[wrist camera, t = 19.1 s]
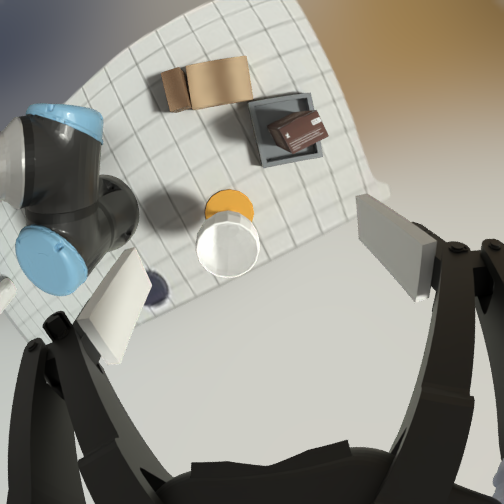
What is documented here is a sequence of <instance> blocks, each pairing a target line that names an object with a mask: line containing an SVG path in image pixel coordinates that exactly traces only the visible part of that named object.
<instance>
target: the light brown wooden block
mask: <svg viewBox="0 0 504 504" xmlns="http://www.w3.org/2000/svg"><path fill="white" fill-rule="evenodd" d="M186 72H187V78H188V85H189V91H190V98H191V104H192V109H193V110H198V109H203V108H208V107H214V106H219V105H225V104H232V103H238V102H246V101H252V100H253V94H252V87H251V81H250V75H249V68H248V62H247V56H240V57H233V58H226V59H220V60H214V61H208V62H203V63H198V64H193V65H188V66H186Z"/></svg>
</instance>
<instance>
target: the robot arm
mask: <svg viewBox="0 0 504 504" xmlns="http://www.w3.org/2000/svg"><path fill="white" fill-rule="evenodd" d="M102 133H103V117H102V115H101V114H100V113H99V112H98V111H96V110H94V109H90V108H86V107H80V106H74V105H65V104H54V105H53V104H43V103H42V104H33V105H30V106H29V107H28V110H27V111H26V116H21V117H15V118H14V119H13V120H12V121H11V122H10V123H9V124H8V126H7V127H6V128H5V129H4V130H3V131H1V132H0V202H1V201H5V202H7V203H8V204H10V205H11V206H12V207H14V208H15V209H21V208H24V207H25V214H26V224H27V226H26V227H24V228H23V229H22V230H21V231H20V233H19V236H18V238H17V239H16V244H15V249H16V256H17V259H18V262H19V265H20V267H21V269H22V270H23V272H24V273H25V275H26V276H27V277H28V279H29V280H31V281H32V282H33V284H34V285H35V286H37V287H38V288H39V289H41V290H42V291H44V292H46V293H48V294H51V295H55V296H66V295H69V294H71V293H73V292H74V291H75V290H76V289H77V288H78V287H79V286H80V285H81V284H82V283H84V282H85V281H86V279H87V277H88V276H89V274H90V273H91V272H92V270H93V269H94V268H95V266H96V265H97V264H98V263H99V261H100V260H101V259H102V258H103V256H104V255H105V254H106V253H107V252H110V251H113V250H115V249H118V248H120V247H122V246H123V245H124V244H126V243H127V242H128V241H129V239H130V238H131V237H132V236H133V234H134V233H135V231H136V229H137V226H138V222H139V208H138V204H137V200H136V198H135V196H134V194H133V192H132V191H131V189H130V188H129V187H128V186H127V185H126V184H125V183H124V182H123V181H121V180H120V179H118V178H116V177H113V176H110V175H99V170H100V156H101V145H103V140H102ZM356 204H357V217H358V233H359V239H360V241H361V242H362V243H363V244H364V245H365V246H366V247H367V248H368V249H369V250H370V251H371V252H372V254H373V255H374V256H375V257H376V258H377V259H378V260H379V261H380V262H381V263H382V265H383V266H384V267H385V268H386V269H387V270H388V271H389V272H390V274H391V275H392V276H393V277H394V278H395V279H396V280H397V282H398V283H399V284H400V285H401V286H402V287H403V289H404V290H405V291H406V292H407V293H408V295H409V296H410V297H411V298H412V299H413V300H414V302H415V303H416V302H418V301H422V300H424V299H427V298H429V294H430V289H431V286H432V287H433V288H434V290H435V291H436V294H435V299H434V304H433V308H432V318H431V323H430V329H429V334H428V338H427V343H426V348H425V352H424V356H423V360H422V364H421V367H420V371H419V375H418V378H417V382H416V385H415V388H414V391H413V394H412V397H411V400H410V404H409V406H408V409H407V412H406V415H405V417H404V420H403V423H402V425H401V428H400V430H399V432H398V435H397V437H396V439H395V441H394V443H393V445H392V447H391V449H390V451H389V453H388V452H386V451H383V450H379V449H373V448H366V447H353V448H352V447H351V448H350V447H349V444H348V440H345V441H341V442H338V443H334V444H330V445H327V446H322V447H319V448H314V449H310V450H307V451H305V452H302V453H301V454H298V455H296V456H293V457H291V458H288V459H286V460H284V461H281V462H278V463H276V464H273V465H270V466H260V465H251V464H242V463H235V462H229V461H224V462H192V463H191V471H189V472H186V473H183V474H181V475H178V476H176V477H174V478H173V477H172V476H171V475H170V474H169V473H168V472H167V471H166V470H165V469H164V468H163V466H162V465H161V464H160V462H159V461H158V460H157V458H156V457H155V456H154V454H153V453H152V451H151V450H150V448H149V447H148V446H147V444H146V443H145V441H144V440H143V438H142V437H141V435H140V434H139V432H138V430H137V429H136V427H135V426H134V424H133V422H132V421H131V419H130V417H129V416H128V414H127V412H126V411H125V409H124V407H123V406H122V404H121V402H120V400H119V398H118V397H117V395H116V393H115V391H114V389H113V387H112V385H111V383H110V382H109V379H108V378H107V376H106V374H105V371H104V369H103V367H102V366H101V365H100V363H99V360H100V357H102V358H103V359H104V361H105V362H106V363H107V365H115V364H121V361H122V358H123V355H124V353H125V350H126V348H127V345H128V342H129V340H130V337H131V335H132V332H133V330H134V327H135V325H136V322H137V320H138V317H139V315H140V312H141V310H142V308H143V305H144V303H145V300H146V298H147V296H148V293H149V291H150V289H151V287H152V284H151V282H150V280H149V278H148V275H147V273H146V271H145V268H144V266H143V264H142V262H141V259H140V257H139V254H138V252H137V250H136V247H133V248H130V249H126V250H124V252H123V253H122V254H121V256H120V257H119V258H118V260H117V261H116V262H115V264H114V265H113V266H112V268H111V269H110V271H109V272H108V273H107V275H106V276H105V278H104V279H103V280H102V282H101V283H100V285H99V286H98V288H97V289H96V291H95V292H94V293H93V295H92V296H91V298H90V299H89V300H88V301H87V303H86V304H85V306H84V308H83V309H82V310H81V313H79V315H78V317H77V318H76V320H75V321H74V323H73V325H72V324H71V322H70V321H69V319H68V318H67V316H66V314H65V313H64V312H63V311H58V312H56V313H54V314H52V315H51V316H49V317H48V318H47V319H46V320H45V322H44V324H43V328H44V330H45V331H46V333H47V334H48V336H49V337H50V339H51V340H52V342H53V343H50V344H47V345H45V343H44V342H43V340H42V339H41V338H36V339H33V340H31V341H30V342H29V343H28V344H27V346H26V347H25V349H24V352H23V357H22V360H21V364H20V368H19V373H18V377H17V383H16V387H15V393H14V399H13V405H12V413H11V420H10V431H9V446H8V486H9V490H8V497H7V504H86V502H85V497H84V493H83V488H82V483H81V478H80V473H79V470H80V472H81V475H82V477H83V479H84V482H85V484H86V486H87V488H88V490H89V492H90V495H91V497H92V499H93V501H94V502H95V504H504V244H503V243H502V242H500V241H499V240H496V239H485V240H484V241H483V242H482V246H481V250H478V251H470V248H469V247H468V246H467V245H465V244H463V243H460V242H445V241H444V240H443V239H441V238H440V237H438V236H437V235H436V234H433V232H431V231H430V230H428V229H427V228H426V227H424V226H423V225H421V224H418V223H415V222H410V221H409V220H407V219H406V218H404V217H403V216H401V215H399V214H398V213H396V212H395V211H394V210H392V209H391V208H389V207H388V206H386V205H385V204H383V203H381V202H380V201H378V200H377V199H375V198H373V197H372V196H370V195H369V194H363V195H358V196H356ZM475 308H476V311H477V314H478V317H479V321H480V324H481V328H482V331H483V335H484V339H485V343H486V347H487V352H488V356H489V361H490V366H491V372H492V377H493V384H494V390H495V397H496V407H497V419H498V436H499V447H500V454H501V460H502V462H501V463H500V466H499V468H498V471H497V473H496V475H495V476H494V478H493V485H494V486H495V487H496V490H495V493H494V495H493V497H490V496H487V495H484V494H481V493H478V492H476V491H473V490H470V489H467V488H465V487H462V486H460V485H457V484H455V483H454V481H455V479H456V475H457V473H458V470H459V466H460V464H461V460H462V457H463V454H464V450H465V446H466V442H467V439H468V434H469V430H470V426H471V421H472V416H473V410H474V401H475V400H474V396H470V385H471V378H472V369H473V358H474V344H475ZM74 431H75V434H76V437H77V439H78V442H79V445H80V448H81V450H82V453H83V455H84V457H83V458H81V459H79V460H78V461H77V454H76V446H75V437H74Z"/></svg>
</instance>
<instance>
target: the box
mask: <svg viewBox="0 0 504 504" xmlns="http://www.w3.org/2000/svg"><path fill="white" fill-rule="evenodd" d="M266 127H267V129H268V131H269V132H270V134H271V136H272V138H273V139H274V141H275V143H276V145H277V146H278V147H280V148H282V149H284V150H286V151H288V152H290V153H292V154H294V153H296V152H298V151H300V150H302V149H304V148H306V147H308V146H310V145H312V144H314V143H316V142H318V141H320V140H322V139H324V138H326V137H328V133H327V131H326V129H325V127H324V125H323V123H322V121H321V118H320V116H319V114H318V112H317V110H310V111H300V112H294V113H291V114H289V115H287V116H285V117H283V118H281V119H279V120H277V121H275V122H273V123H271V124H269V125H267V126H266Z"/></svg>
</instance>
